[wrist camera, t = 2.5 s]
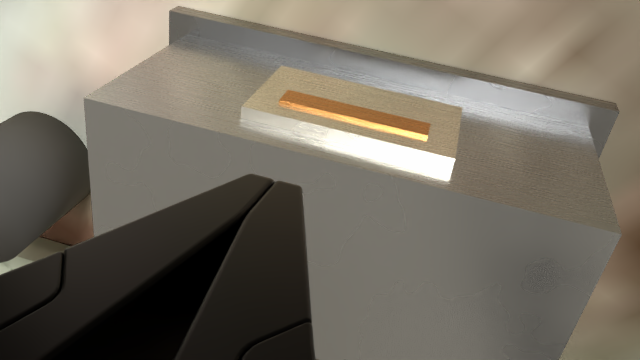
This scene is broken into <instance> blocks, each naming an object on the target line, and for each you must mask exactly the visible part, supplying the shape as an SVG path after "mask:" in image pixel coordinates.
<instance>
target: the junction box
mask: <svg viewBox="0 0 640 360" xmlns="http://www.w3.org/2000/svg"><path fill="white" fill-rule="evenodd" d="M84 108H85V121H86V135H87V148H88V162H89V176H90V189H91V203H92V216H93V230H94V237H96V236H98V235H100V234H103V233H105V232H108V231H110V230H113V229H115V228H118V227H120V226H122V225H125V224H127V223H130V222H132V221H135V220H137V219H139V218H142V217H144V216H147V215H149V214H152V213H154V212H157V211H159V210H161V209H164V208H166V207H169V206H171V205H174V204H176V203H178V202H181V201H183V200H186V199H188V198H191V197H193V196H196V195H198V194H200V193H203V192H205V191H208V190H210V189H213V188H215V187H217V186H220V185H222V184H225V183H227V182H230V181H232V180H235V179H237V178H239V177H242V176H244V175H247V174H256V175H260V176H264V177H268V178H271V179H273V180H274V181H275V182H276V181H284V182H288V183H292V184H296V185H299V186H301V187H302V190H303V203H304V217H305V231H306V245H307V259H308V273H309V287H310V301H311V315H312V326H313V340H314V350H315V359H318V360H559V358H560V356H561V354H562V352H563V350H564V348H565V346H566V344H567V342H568V340H569V338H570V336H571V334H572V332H573V330H574V328H575V326H576V324H577V322H578V320H579V318H580V316H581V314H582V312H583V310H584V308H585V306H586V304H587V302H588V300H589V298H590V296H591V294H592V292H593V290H594V288H595V286H596V284H597V282H598V280H599V278H600V276H601V274H602V273H603V271H604V269H605V267H606V265H607V263H608V261H609V259H610V257H611V255H612V253H613V251H614V249H615V247H616V245H617V243H618V241H619V239H620V237H621V235H622V234H621V230H620V227H619V224H618V221H617V218H616V214H615V211H614V208H613V205H612V201H611V198H610V195H609V192H608V188H607V185H606V182H605V179H604V175H603V172H602V169H601V166H600V162H599V157H600V155H601V152H602V150H603V148H604V145H605V143H606V141H607V139H608V136H609V134H610V132H611V130H612V127H613V125H614V123H615V121H616V118H617V116H618V114H619V110H618V107H617V105H616V103H611V102H607V101H602V100H598V99H593V98H589V97H584V96H580V95H575V94H571V93H566V92H562V91H557V90H553V89H549V88H544V87H540V86H535V85H531V84H526V83H522V82H517V81H513V80H508V79H504V78H499V77H495V76H490V75H486V74H481V73H477V72H472V71H468V70H463V69H459V68H454V67H450V66H445V65H441V64H436V63H432V62H427V61H423V60H418V59H414V58H409V57H405V56H400V55H396V54H391V53H387V52H382V51H378V50H373V49H369V48H364V47H360V46H355V45H351V44H346V43H342V42H337V41H333V40H328V39H324V38H319V37H315V36H310V35H306V34H301V33H297V32H292V31H288V30H283V29H279V28H274V27H270V26H265V25H261V24H257V23H252V22H248V21H243V20H239V19H234V18H230V17H225V16H221V15H216V14H212V13H207V12H203V11H198V10H194V9H189V8H185V7H180V6H178V7H176V8H174V9H172V10H170V11H169V46H167V47H166V48H164V49H162V50H161V51H159V52H157V53H156V54H154V55H153V56H151V57H149V58H148V59H146V60H144V61H143V62H141V63H140V64H138V65H136V66H135V67H133V68H131V69H130V70H128V71H127V72H125V73H123V74H122V75H120V76H118V77H117V78H115V79H114V80H112V81H110V82H109V83H107V84H105V85H104V86H102V87H101V88H99V89H97V90H96V91H94V92H92V93H91V94H89V95H88V96H86V97H84Z"/></svg>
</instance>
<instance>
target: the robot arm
mask: <svg viewBox="0 0 640 360" xmlns="http://www.w3.org/2000/svg"><path fill="white" fill-rule="evenodd" d="M0 360H316V359H315V350H314V340H313V326H312V315H311V301H310V287H309V273H308V259H307V245H306V231H305V217H304V203H303V190H302V187H301V186H299V185H296V184H292V183H288V182H284V181H276V182H275V181H274V180H273V179H271V178H268V177H264V176H260V175H256V174H247V175H244V176H242V177H239V178H237V179H235V180H232V181H230V182H227V183H225V184H222V185H220V186H217V187H215V188H213V189H210V190H208V191H205V192H203V193H200V194H198V195H196V196H193V197H191V198H188V199H186V200H183V201H181V202H178V203H176V204H174V205H171V206H169V207H166V208H164V209H161V210H159V211H157V212H154V213H152V214H149V215H147V216H144V217H142V218H139V219H137V220H135V221H132V222H130V223H127V224H125V225H122V226H120V227H118V228H115V229H113V230H110V231H108V232H105V233H103V234H100V235H98V236H96V237H93V238H91V239H88V240H86V241H83V242H81V243H78V244H76V245H74V246H71V247H69V248H66V249H65V250H64V253H62V252H60V251H59V252H56V253H54V254H51V255H49V256H46V257H44V258H42V259H39V260H37V261H34V262H32V263H29V264H26V265H24V266H21V267H19V268H16V269H13V270H11V271H8V272H6V273H3V274H1V275H0Z"/></svg>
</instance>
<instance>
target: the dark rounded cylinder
mask: <svg viewBox="0 0 640 360" xmlns="http://www.w3.org/2000/svg"><path fill="white" fill-rule="evenodd" d="M90 191H91V189H90V176H89V162H88V150H87V148H86V147H85V145H84V144H83V142H82V141H81V139H80V138H79V137H78V136H77V135H76V134H75V133H74V132H73V131H72V130H71V129H70V128H69V127H68V126H67V125H65V124H64V123H63V122H61V121H59V120H58V119H56V118H54V117H52V116H50V115H47V114H44V113H40V112H31V111H30V112H22V113H19V114H17V115H15V116H13V117H11V118H9V119H8V120H6V121H4V122H2V123H0V263H1V262H6V261H9V260H11V259H13V258H15V257H16V256H17V255H18V254H19V253H21V252H22V251H23V250H24V249H25V248H26V247H28V246H29V245H30V244H31V243H32V242H33V241H35V240H36V239H37V238H38V237H39V236H40V235H42V234H43V233H44V232H45V231H46V230H47V229H49V228H50V227H51V226H52V225H53V224H55V223H56V222H57V221H58V220H59V219H60V218H62V217H63V216H64V215H65V214H66V213H67V212H69V211H70V210H71V209H72V208H73V207H74V206H76V205H77V204H78V203H79V202H80V201H81V200H83V199H84V198H85V197H86V196H87V195H88V194H89V192H90Z"/></svg>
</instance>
